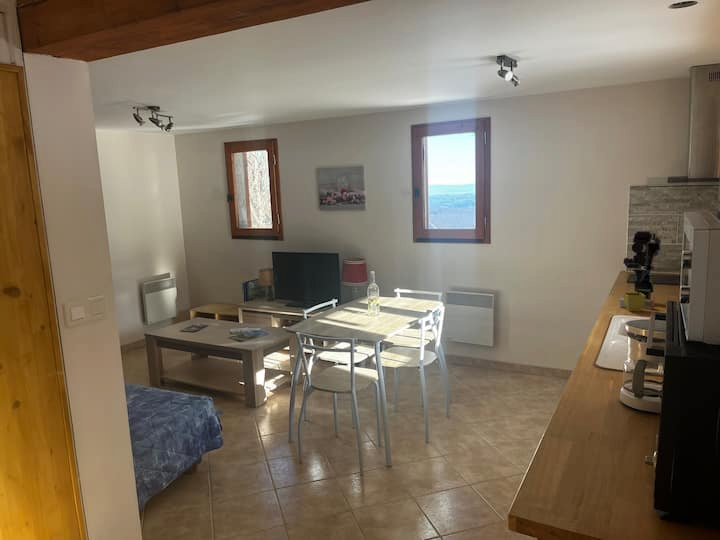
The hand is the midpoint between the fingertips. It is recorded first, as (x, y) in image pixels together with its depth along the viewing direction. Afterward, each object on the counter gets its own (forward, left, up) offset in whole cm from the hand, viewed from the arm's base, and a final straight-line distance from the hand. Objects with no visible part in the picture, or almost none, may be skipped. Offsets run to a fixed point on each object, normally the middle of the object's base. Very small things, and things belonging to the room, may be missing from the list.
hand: (639, 282), depth 292 cm
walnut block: (-1, +6, -13) cm, 15 cm away
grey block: (+8, 0, -13) cm, 16 cm away
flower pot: (+9, +9, -13) cm, 18 cm away
